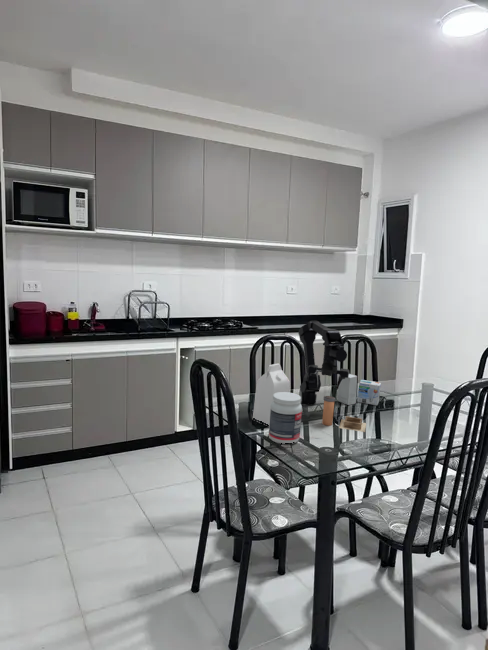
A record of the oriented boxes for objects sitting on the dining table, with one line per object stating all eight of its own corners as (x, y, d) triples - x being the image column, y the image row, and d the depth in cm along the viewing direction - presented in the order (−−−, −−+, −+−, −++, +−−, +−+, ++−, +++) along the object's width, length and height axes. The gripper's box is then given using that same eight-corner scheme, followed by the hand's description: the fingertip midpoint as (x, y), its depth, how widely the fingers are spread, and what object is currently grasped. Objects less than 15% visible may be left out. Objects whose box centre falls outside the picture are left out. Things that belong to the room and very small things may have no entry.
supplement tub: (302, 446, 182) (306, 401, 179) (270, 445, 181) (273, 400, 178) (296, 433, 195) (299, 391, 192) (266, 432, 194) (269, 390, 191)
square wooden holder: (338, 431, 200) (339, 422, 199) (341, 422, 210) (342, 414, 209) (364, 435, 196) (365, 426, 196) (365, 426, 207) (366, 417, 206)
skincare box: (355, 403, 237) (358, 376, 235) (347, 405, 234) (350, 377, 231) (344, 399, 244) (346, 372, 242) (335, 400, 241) (338, 373, 238)
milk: (270, 413, 216) (274, 360, 212) (289, 421, 208) (293, 365, 204) (252, 419, 208) (255, 363, 203) (271, 427, 200) (275, 369, 195)
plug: (319, 427, 203) (322, 398, 200) (323, 423, 207) (326, 395, 205) (330, 430, 200) (333, 400, 198) (334, 426, 204) (336, 397, 202)
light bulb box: (356, 402, 240) (358, 382, 239) (358, 398, 247) (360, 379, 245) (377, 405, 236) (379, 385, 235) (379, 402, 243) (381, 382, 241)
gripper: (307, 357, 209) (304, 390, 211) (348, 362, 204) (345, 396, 206) (310, 352, 219) (308, 384, 222) (350, 357, 214) (347, 389, 217)
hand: (326, 388), depth 216 cm, fingers open, 9 cm apart
